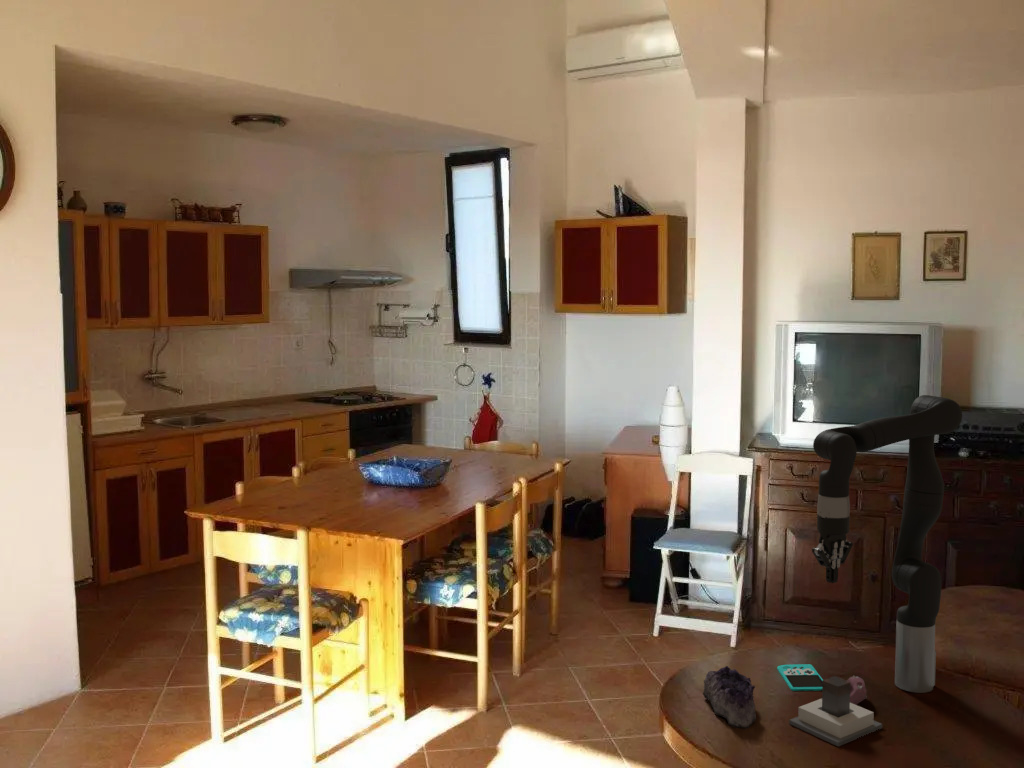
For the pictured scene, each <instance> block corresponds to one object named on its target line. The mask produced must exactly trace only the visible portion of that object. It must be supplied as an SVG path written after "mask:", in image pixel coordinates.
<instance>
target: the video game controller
mask: <svg viewBox="0 0 1024 768" xmlns="http://www.w3.org/2000/svg"><path fill="white" fill-rule="evenodd" d="M846 681H849V682H850V703H852V704H855V705H857V706H858V704H859V703H861V702H863V701H864V700H865V699H867V698H868V696H867V689H866V684H865V681H864V679H863V678H861V677H859V676H855V675H853V676H849V678H848V679H847V680H846Z"/></svg>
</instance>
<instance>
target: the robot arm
mask: <svg viewBox="0 0 1024 768" xmlns="http://www.w3.org/2000/svg"><path fill="white" fill-rule="evenodd" d="M961 407H962V406H960V404H959V403H958V402H956V401H955V400H953V399H951V398H948V397H943V396H936V395H935V396H934V395H929V394H921V395H919V396H918V397H916V398H915V399H914V400H913V402H912V404H911V406H910V410H909V414H903V415H896V416H895V415H893V416H884V417H878V418H874V419H870V420H868V421H864V422H861V423H858V424H854V425H850V426H849V425H848V426H840V427H833V428H829V429H825V430H823V431H820V432H819V433H818V434H817V435H816V437H815V438H814V440H813V445H812V447H813V451H814V452H815V454H816V455H817V456H818V457H819V458H822V459H824V460H828V461H830V465H829V468H828V469H823V470H822V471H820V473H819V477H818V496H817V497H818V498H817V504H816V505H817V508H816V513H817V515H816V519H817V520H816V530H817V532H818V533H819V539H818V545H817V546H816V547H812V549H811V552H812V554H813V556H814V558H815V559H816V560H817V562H818V564H819V565H820V566H822V567H825V579H826V582H827V583H829V584H835V583H838V579H839V568H840V567H841V565H843V564H845V563H846V560H847V558H848V557H849V555H850V552H851V550H852V548H853V546H854V545H853V544H854V543H853V542H852V541H850V540H847V534H849V532H850V517H851V515H850V512H851V511H850V510H851V505H850V477H851V475H852V472H853V469H854V465H855V461H856V458H857V453H866V452H870V451H874V450H877V449H880V448H883V447H887V446H889V445H892V444H895V443H901V442H903V441H907V440H908V458H907V468H906V469H907V470H906V478H905V483H904V485H905V486H904V493H903V502H902V503H903V504H902V513H901V521H900V528H899V534H898V540H897V544H896V549H895V553H894V558H893V562H892V566H891V580H892V583H893V585H894V587H896V589H898V590H899V591H902V592H904V593H905V594H908V602H907V603H908V604H907V605H902V606H899V607H898V609H897V611H896V628H895V658H894V660H895V664H894V685H895V686H896V687H897V688H899V689H900V690H903V691H906V692H910V693H917V694H925V693H929V692H932V691H933V690H934V686H935V685H936V660H937V650H936V649H935V648H936V646H935V645H936V618H937V616H938V614H939V612H940V606H941V594H942V575H941V571H940V570H939V569H938V568H937V567H936V566H935V565H933V564H931V563H929V562H926V561H923V560H922V559H923V558H922V557H923V548H924V542H925V539H926V537H927V535H928V533H929V531H931V529H932V528H933V526H934V525H935V523H936V522H937V521H938V519H939V517H940V515H941V512H942V510H943V502H944V493H945V483H944V479H943V476H942V472H941V470H940V466H939V465H938V461H937V458H936V455H935V436H936V435H939V436H940V435H946V434H950V433H953V432H955V430H957V429H958V428H959V427H960V425H961V423H962V420H963V409H962V408H961Z"/></svg>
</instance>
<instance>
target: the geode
mask: <svg viewBox="0 0 1024 768" xmlns="http://www.w3.org/2000/svg"><path fill="white" fill-rule="evenodd" d="M703 684H704V685H703V692H702V695H703V696H704V698H705V699H706V700H708V701H709V702H710V706H711V707H712V709H713V711H714V715H715V716H719V717H722V718H724V719H726V721H727V724H728V725H729V726H730V727H732V728H738V729H740V730H742V729H743V730H746V729H749V728H750V727H751V726H752V725H753V724H754V723H755V722H756V720H757V715H756V705H755V699H754V691H755V688H756V685H752V680H751V677H747V676H746V675H744V674H741V673H740V672H738V670H737V669H735V668H734V669H731V668H730V667H729V666H728V665H725V666H724V667H721V668H719V669H718V670H716V671H715V670H709V671H708V672H707V674H706V675H705V678H704V680H703Z"/></svg>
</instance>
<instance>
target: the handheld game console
mask: <svg viewBox="0 0 1024 768" xmlns="http://www.w3.org/2000/svg"><path fill="white" fill-rule="evenodd" d="M776 667H777V668H776V670H777V671H778V673H779V674H780V676H781V677H782V679H783V680H784V682H785V684H786V685H787V686H788V688H789V689H790V691H792V692H799V691H800V692H806V691H807V692H809V691H818V692H819V691H821V692H822V685H823V680H824V679H823V677H822V676H821V675H820V674H819V673H818V671H817V670H816V668H815V667H814V665H812V664H809V663H808V664H806V663H804V664H802V663H801V664H799V663H796V664H793V663H792V664H791V663H790V664H781V665H778V666H776Z"/></svg>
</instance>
